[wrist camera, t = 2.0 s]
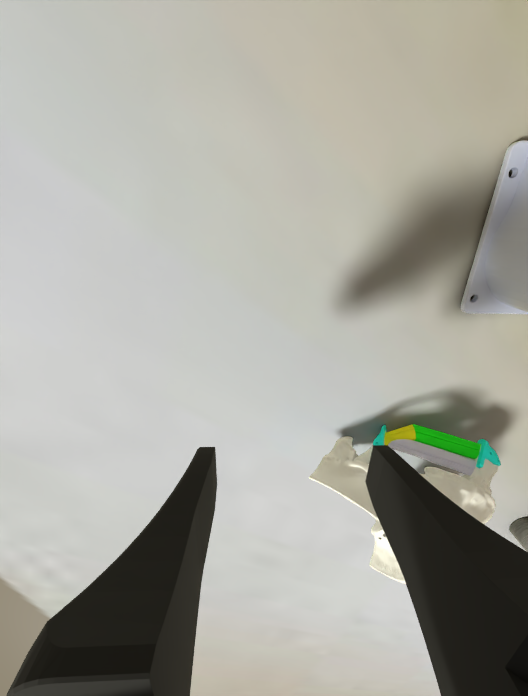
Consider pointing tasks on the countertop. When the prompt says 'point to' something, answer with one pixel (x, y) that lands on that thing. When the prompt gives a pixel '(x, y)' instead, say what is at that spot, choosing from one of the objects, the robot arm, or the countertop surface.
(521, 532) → the housing bracket
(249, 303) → the countertop surface
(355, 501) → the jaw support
